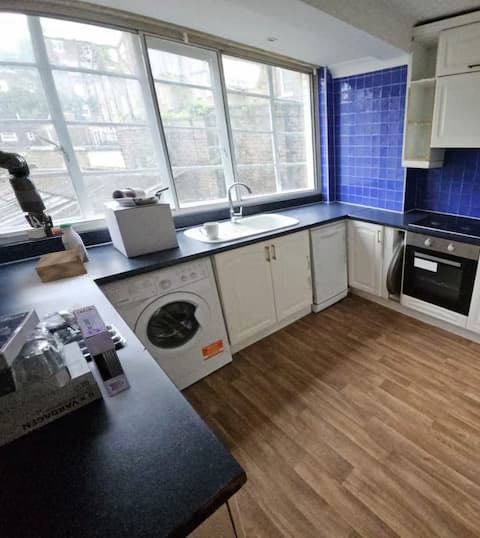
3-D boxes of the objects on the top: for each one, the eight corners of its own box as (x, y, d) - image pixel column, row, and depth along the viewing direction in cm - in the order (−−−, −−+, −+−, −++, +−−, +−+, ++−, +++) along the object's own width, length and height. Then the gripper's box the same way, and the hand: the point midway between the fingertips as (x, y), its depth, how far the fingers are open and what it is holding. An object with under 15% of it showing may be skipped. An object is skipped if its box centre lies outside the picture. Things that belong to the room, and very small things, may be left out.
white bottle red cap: (36, 241, 133) (31, 231, 131) (29, 240, 134) (24, 230, 132) (64, 234, 142) (60, 225, 141) (57, 233, 144) (53, 224, 142)
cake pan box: (134, 388, 74) (108, 329, 67) (109, 400, 70) (79, 340, 63) (117, 355, 86) (93, 303, 79) (95, 365, 82) (68, 310, 75)
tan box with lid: (42, 283, 136) (32, 264, 132) (49, 268, 153) (40, 251, 149) (87, 273, 145) (79, 255, 141) (89, 260, 162) (82, 244, 158)
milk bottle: (89, 255, 170) (75, 221, 162) (88, 258, 164) (74, 224, 156) (71, 258, 165) (55, 224, 157) (70, 262, 160) (54, 226, 152)
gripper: (8, 201, 130) (26, 238, 137) (30, 202, 126) (47, 240, 133) (30, 198, 136) (46, 233, 143) (51, 199, 133) (66, 235, 139)
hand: (47, 236), depth 138 cm, fingers closed on white bottle red cap, 4 cm apart
